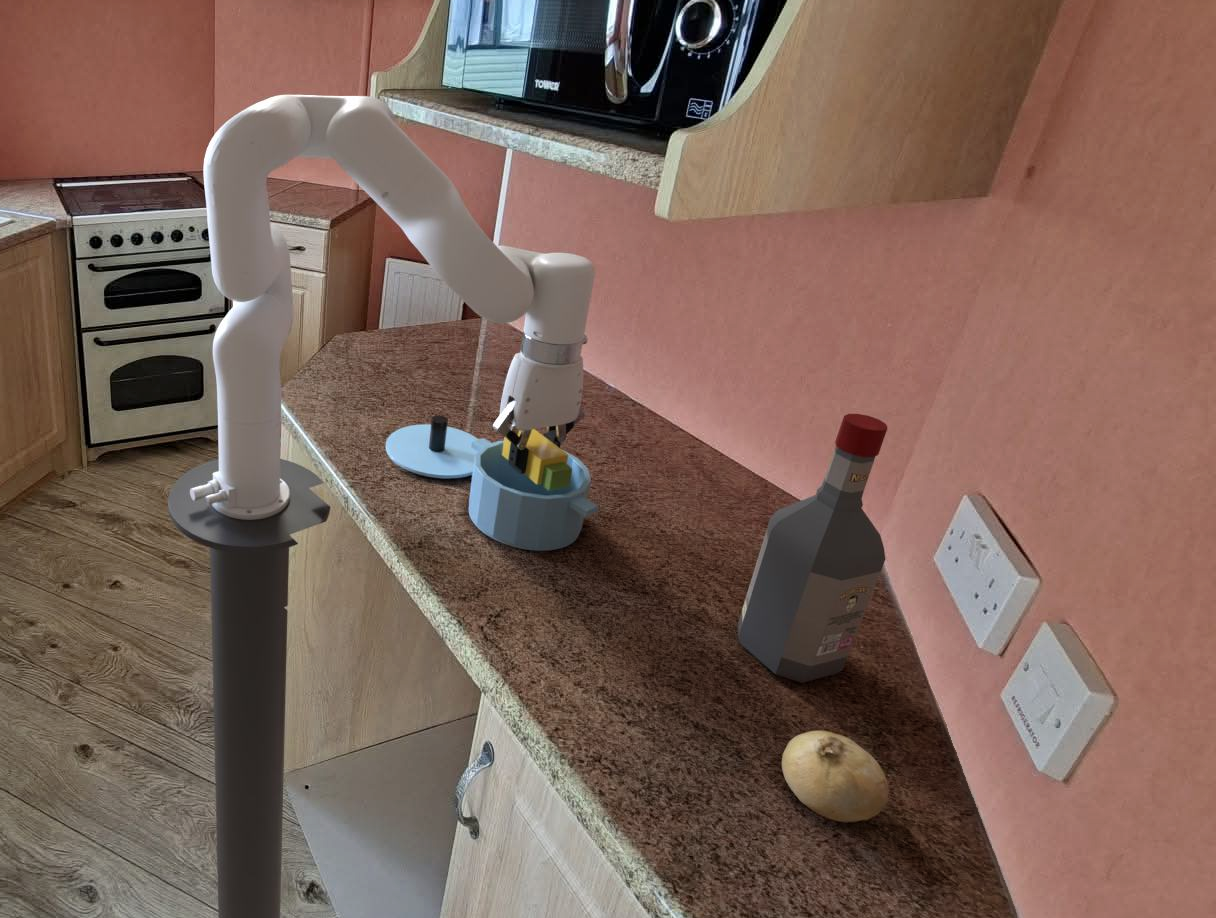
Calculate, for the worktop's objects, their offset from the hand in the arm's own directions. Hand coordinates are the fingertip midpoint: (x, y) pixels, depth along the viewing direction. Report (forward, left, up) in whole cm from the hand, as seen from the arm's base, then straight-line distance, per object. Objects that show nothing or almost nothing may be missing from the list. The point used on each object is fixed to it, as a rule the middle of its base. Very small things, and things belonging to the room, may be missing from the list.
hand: (532, 464), depth 112 cm
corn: (0, 0, 0) cm, 0 cm away
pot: (0, 0, -9) cm, 9 cm away
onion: (-10, -46, -9) cm, 48 cm away
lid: (+1, +20, -8) cm, 22 cm away
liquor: (+6, -34, -9) cm, 36 cm away
